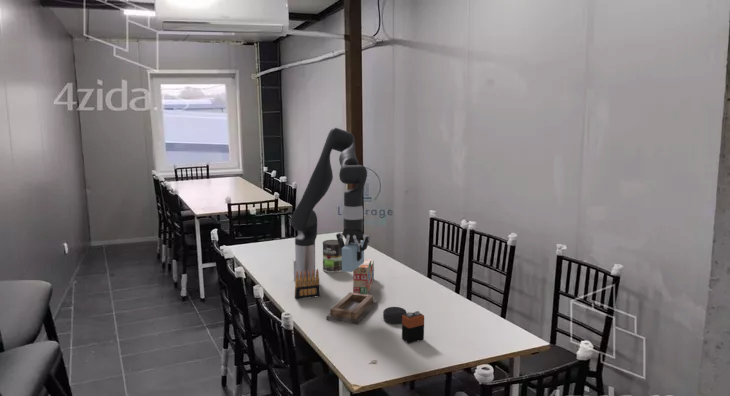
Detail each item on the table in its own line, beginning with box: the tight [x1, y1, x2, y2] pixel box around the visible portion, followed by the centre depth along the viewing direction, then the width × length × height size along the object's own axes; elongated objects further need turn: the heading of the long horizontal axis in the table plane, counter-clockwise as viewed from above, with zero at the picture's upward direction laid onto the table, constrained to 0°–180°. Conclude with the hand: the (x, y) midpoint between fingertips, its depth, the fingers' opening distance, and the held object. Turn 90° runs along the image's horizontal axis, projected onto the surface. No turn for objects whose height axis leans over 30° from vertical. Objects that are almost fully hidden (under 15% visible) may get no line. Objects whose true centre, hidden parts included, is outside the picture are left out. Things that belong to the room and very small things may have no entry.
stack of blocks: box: [352, 258, 375, 295], centre depth 248 cm, size 21×6×12 cm, turn 171°
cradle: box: [326, 292, 378, 325], centre depth 217 cm, size 13×22×4 cm, turn 160°
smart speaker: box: [382, 306, 408, 325], centre depth 210 cm, size 9×9×4 cm
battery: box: [401, 310, 425, 344], centre depth 192 cm, size 4×7×10 cm, turn 121°
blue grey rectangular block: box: [341, 239, 365, 273], centre depth 214 cm, size 4×14×9 cm, turn 161°
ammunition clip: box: [294, 268, 321, 300], centre depth 233 cm, size 11×2×12 cm, turn 112°
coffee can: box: [322, 239, 343, 273], centre depth 272 cm, size 10×10×14 cm
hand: (353, 259), depth 214 cm, fingers closed on blue grey rectangular block, 4 cm apart
